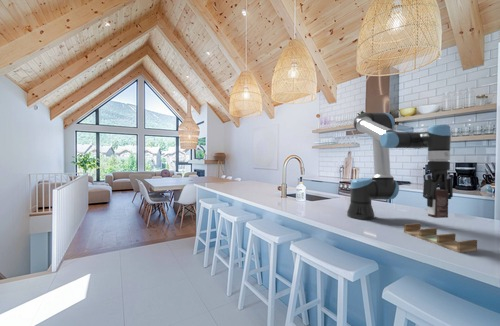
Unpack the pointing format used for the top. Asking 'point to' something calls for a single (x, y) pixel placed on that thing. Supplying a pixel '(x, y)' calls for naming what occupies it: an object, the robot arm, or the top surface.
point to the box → (440, 204)
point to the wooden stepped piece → (440, 238)
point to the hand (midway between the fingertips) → (437, 213)
